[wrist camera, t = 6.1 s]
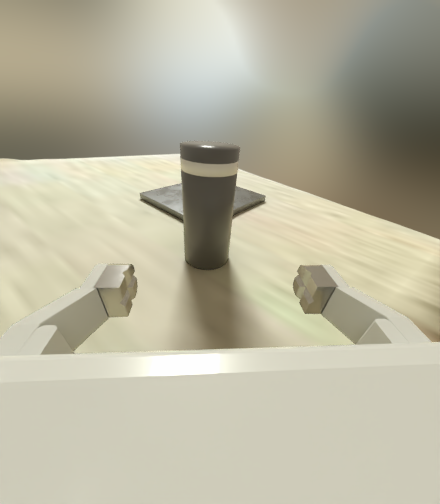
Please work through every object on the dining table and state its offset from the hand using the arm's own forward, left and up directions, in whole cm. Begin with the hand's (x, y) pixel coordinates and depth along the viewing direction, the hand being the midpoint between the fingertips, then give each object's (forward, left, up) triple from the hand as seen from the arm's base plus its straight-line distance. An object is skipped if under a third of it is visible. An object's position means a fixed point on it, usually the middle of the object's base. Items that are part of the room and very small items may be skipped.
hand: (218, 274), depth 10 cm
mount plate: (+22, +22, -8) cm, 32 cm away
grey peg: (+9, +9, -8) cm, 15 cm away
